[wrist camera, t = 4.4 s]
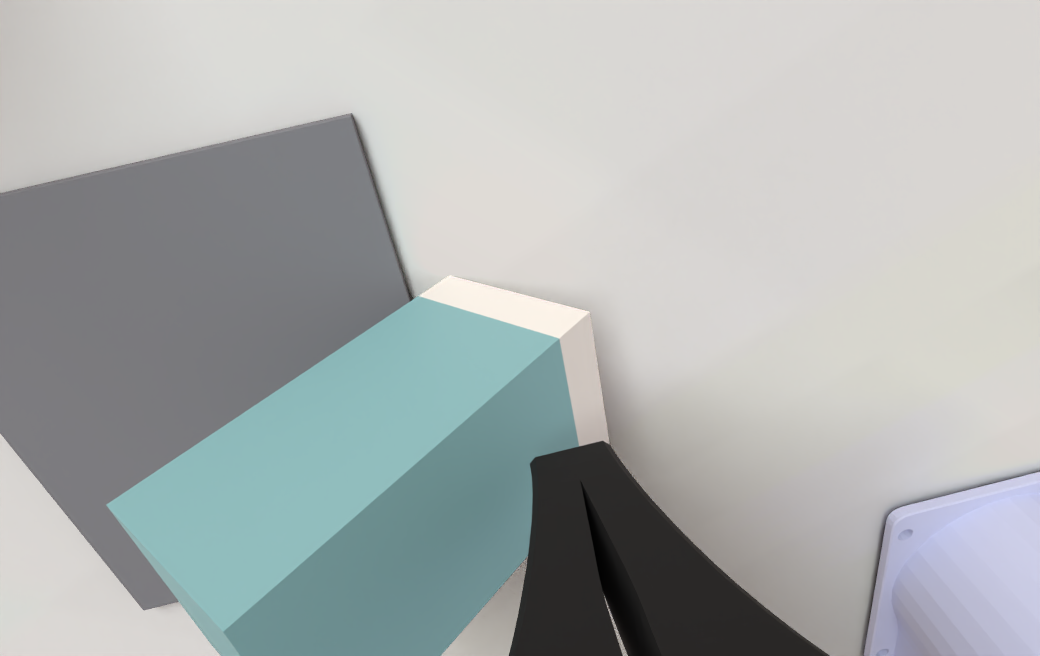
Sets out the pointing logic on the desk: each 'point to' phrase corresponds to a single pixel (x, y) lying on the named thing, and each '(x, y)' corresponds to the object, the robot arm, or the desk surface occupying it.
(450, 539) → the teal block
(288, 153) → the pad
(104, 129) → the desk surface
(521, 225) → the desk surface
